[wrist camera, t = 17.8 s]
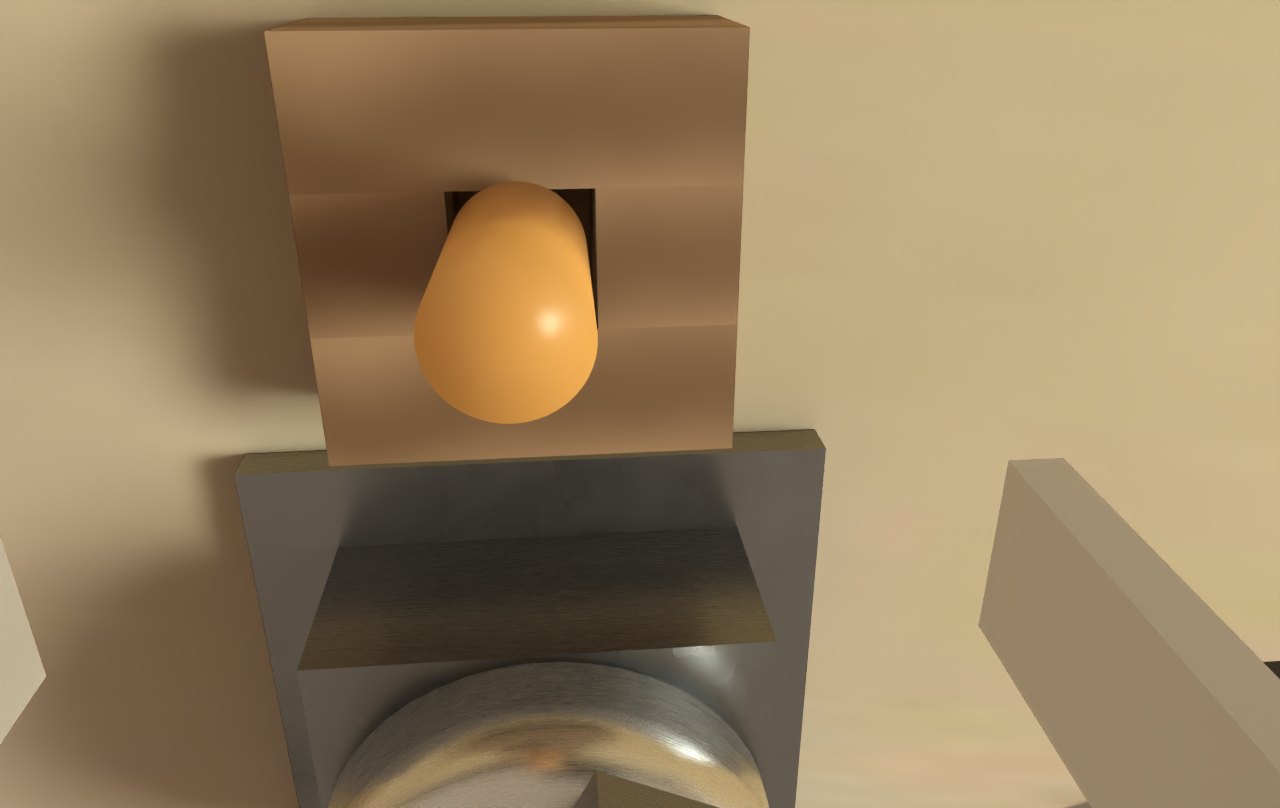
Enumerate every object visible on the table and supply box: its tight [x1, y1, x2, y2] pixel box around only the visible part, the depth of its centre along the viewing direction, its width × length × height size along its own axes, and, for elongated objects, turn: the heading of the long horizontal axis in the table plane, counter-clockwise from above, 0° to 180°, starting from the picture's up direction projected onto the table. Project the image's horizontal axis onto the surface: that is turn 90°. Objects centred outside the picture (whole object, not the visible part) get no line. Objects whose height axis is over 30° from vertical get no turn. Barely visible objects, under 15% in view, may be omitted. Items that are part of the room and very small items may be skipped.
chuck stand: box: [234, 430, 826, 808], centre depth 36 cm, size 20×20×8 cm
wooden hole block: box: [264, 15, 750, 466], centre depth 29 cm, size 12×12×5 cm
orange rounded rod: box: [414, 181, 598, 424], centre depth 25 cm, size 4×4×12 cm
